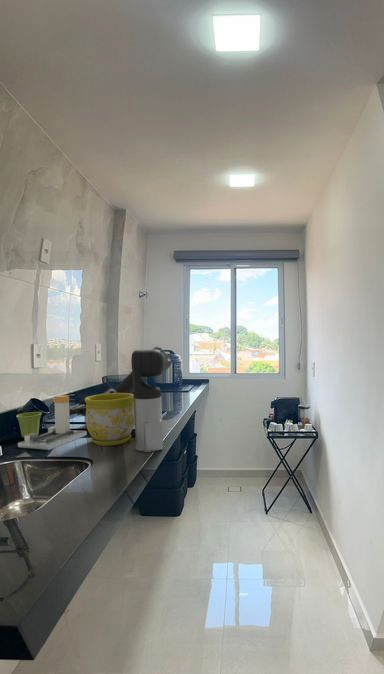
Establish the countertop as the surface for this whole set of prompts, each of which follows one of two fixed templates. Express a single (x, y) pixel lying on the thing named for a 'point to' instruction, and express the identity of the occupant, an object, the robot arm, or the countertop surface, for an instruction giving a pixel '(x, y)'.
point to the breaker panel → (50, 439)
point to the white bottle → (62, 414)
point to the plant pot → (29, 423)
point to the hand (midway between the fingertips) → (64, 413)
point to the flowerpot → (110, 418)
